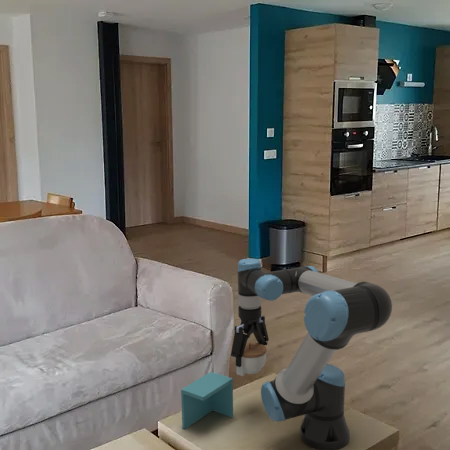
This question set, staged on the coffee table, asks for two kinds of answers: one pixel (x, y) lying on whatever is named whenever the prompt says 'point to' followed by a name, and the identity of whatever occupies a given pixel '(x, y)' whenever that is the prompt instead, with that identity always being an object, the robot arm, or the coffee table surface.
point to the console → (207, 398)
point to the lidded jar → (254, 357)
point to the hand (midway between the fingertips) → (250, 368)
